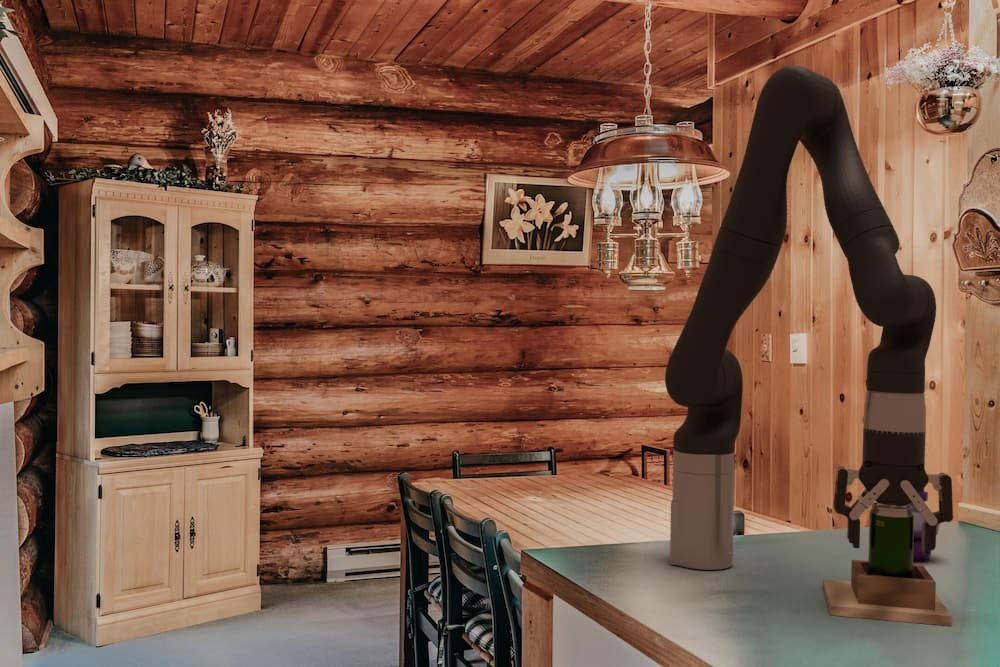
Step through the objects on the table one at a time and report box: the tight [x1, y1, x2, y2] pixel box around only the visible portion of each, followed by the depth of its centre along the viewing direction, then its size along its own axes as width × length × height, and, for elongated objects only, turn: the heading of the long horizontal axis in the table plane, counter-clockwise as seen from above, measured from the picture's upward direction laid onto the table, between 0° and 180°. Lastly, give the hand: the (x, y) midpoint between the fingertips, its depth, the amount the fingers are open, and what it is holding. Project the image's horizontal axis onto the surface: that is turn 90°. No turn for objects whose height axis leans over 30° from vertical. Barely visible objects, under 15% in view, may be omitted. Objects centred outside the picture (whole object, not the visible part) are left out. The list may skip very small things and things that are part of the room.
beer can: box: [868, 501, 914, 579], centre depth 122 cm, size 5×5×12 cm
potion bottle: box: [907, 488, 941, 563], centre depth 148 cm, size 9×9×12 cm
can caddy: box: [822, 559, 953, 627], centre depth 122 cm, size 14×13×5 cm
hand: (890, 550), depth 122 cm, fingers open, 8 cm apart
